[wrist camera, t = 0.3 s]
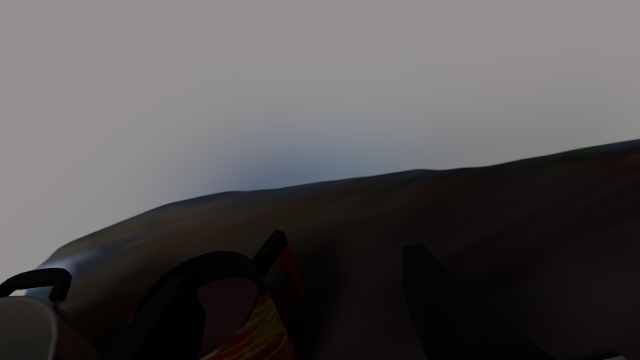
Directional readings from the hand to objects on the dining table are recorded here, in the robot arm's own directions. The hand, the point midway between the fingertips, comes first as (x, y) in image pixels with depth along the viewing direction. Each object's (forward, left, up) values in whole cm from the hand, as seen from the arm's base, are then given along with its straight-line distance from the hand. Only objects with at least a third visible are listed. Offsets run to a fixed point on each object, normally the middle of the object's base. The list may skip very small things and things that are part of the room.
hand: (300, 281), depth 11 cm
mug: (+10, +9, -21) cm, 25 cm away
